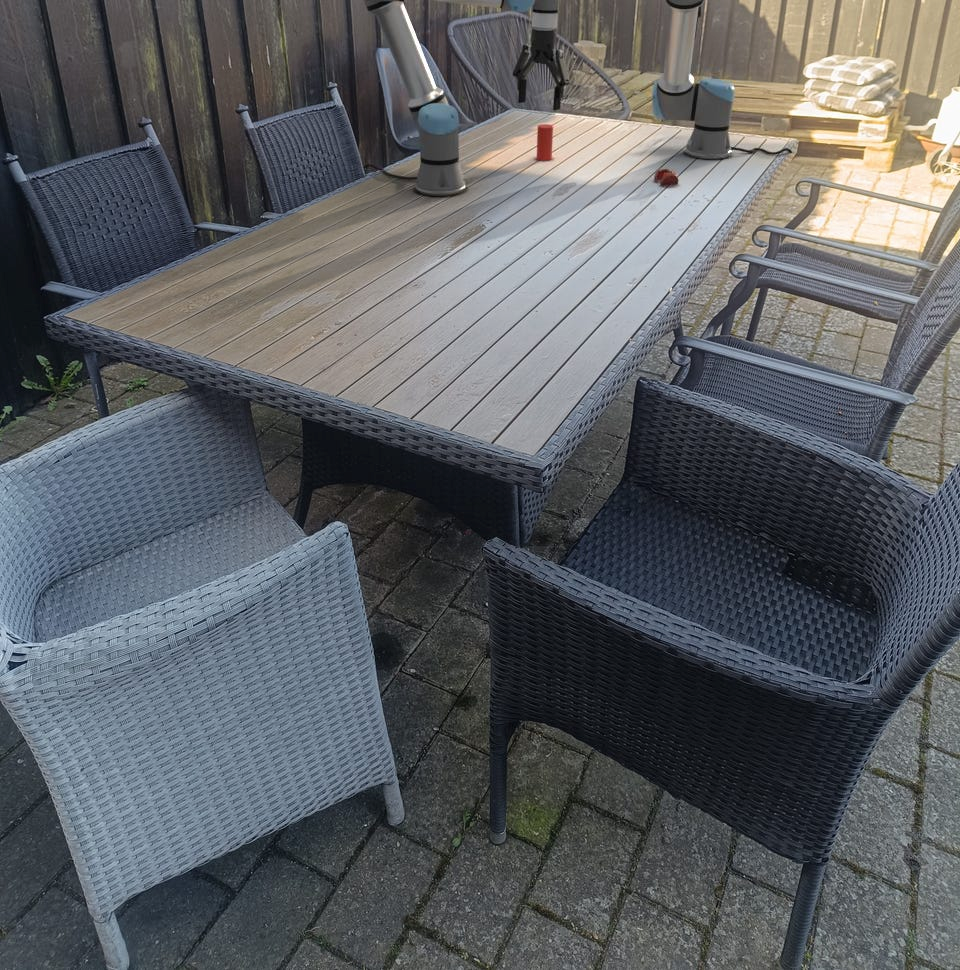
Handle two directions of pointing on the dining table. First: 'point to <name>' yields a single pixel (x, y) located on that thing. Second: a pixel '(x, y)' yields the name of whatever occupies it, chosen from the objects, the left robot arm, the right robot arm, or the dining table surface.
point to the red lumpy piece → (666, 177)
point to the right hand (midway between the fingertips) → (685, 36)
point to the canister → (544, 142)
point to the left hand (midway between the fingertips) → (538, 106)
